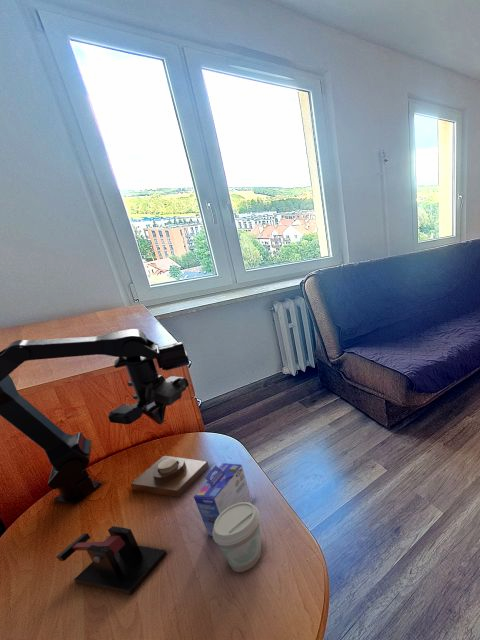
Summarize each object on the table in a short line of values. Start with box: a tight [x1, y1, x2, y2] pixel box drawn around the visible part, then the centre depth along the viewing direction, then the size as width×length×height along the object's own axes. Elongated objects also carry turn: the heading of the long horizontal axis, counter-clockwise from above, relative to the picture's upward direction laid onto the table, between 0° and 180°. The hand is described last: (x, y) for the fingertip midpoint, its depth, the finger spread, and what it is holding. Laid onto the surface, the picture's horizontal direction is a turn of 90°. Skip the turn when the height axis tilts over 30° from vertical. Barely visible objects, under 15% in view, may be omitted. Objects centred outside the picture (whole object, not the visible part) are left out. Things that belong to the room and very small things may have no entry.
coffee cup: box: [212, 502, 262, 573], centre depth 69 cm, size 8×8×12 cm
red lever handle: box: [55, 532, 125, 562], centre depth 68 cm, size 13×5×2 cm, turn 81°
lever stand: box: [73, 525, 168, 596], centre depth 68 cm, size 13×8×9 cm, turn 81°
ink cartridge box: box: [193, 462, 253, 537], centre depth 77 cm, size 10×6×14 cm, turn 174°
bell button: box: [158, 458, 178, 474], centre depth 89 cm, size 4×4×2 cm
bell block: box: [130, 455, 210, 498], centre depth 90 cm, size 14×10×4 cm
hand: (160, 423), depth 94 cm, fingers closed
